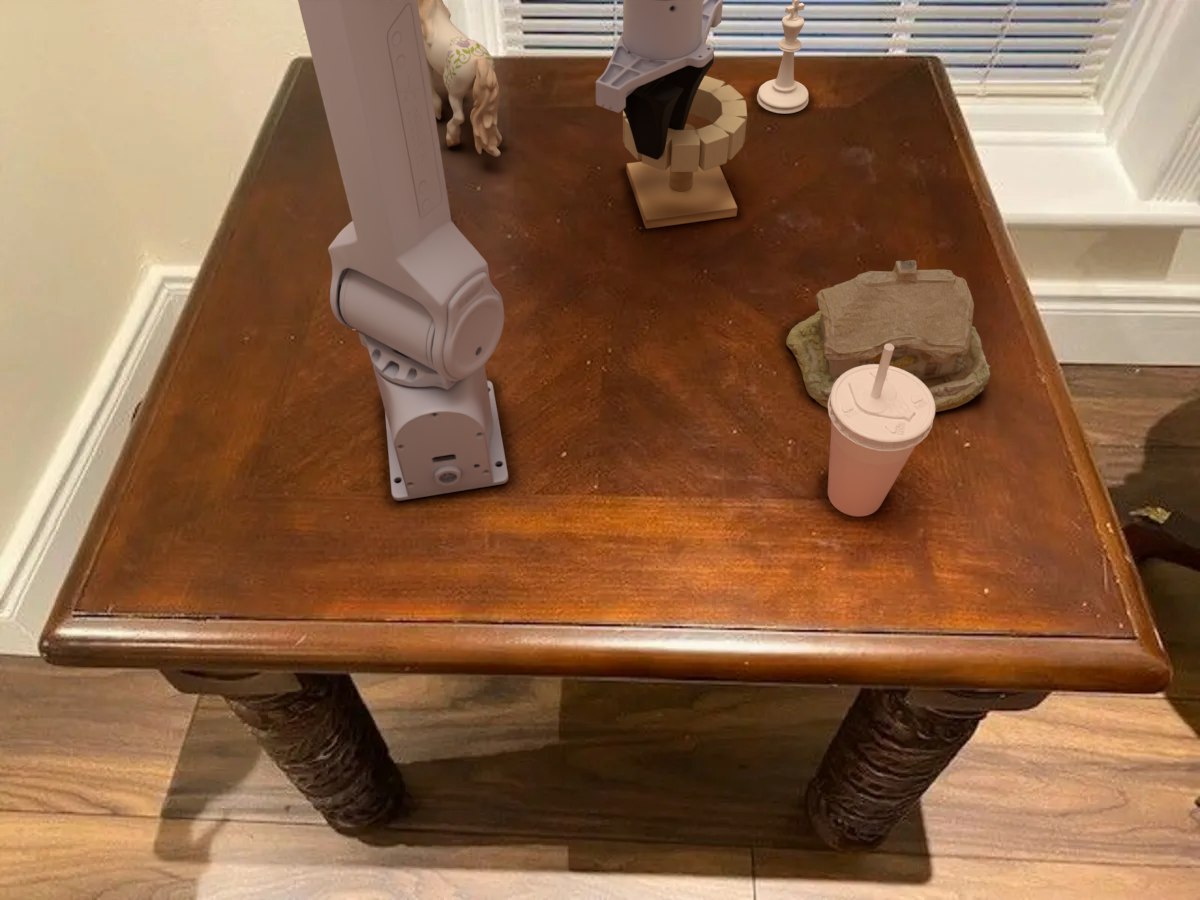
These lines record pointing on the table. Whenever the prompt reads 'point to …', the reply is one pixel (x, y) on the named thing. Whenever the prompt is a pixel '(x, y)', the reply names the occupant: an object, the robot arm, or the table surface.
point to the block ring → (702, 131)
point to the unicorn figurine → (461, 76)
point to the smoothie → (874, 432)
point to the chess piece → (786, 70)
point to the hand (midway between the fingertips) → (658, 145)
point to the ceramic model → (895, 333)
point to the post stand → (680, 194)
